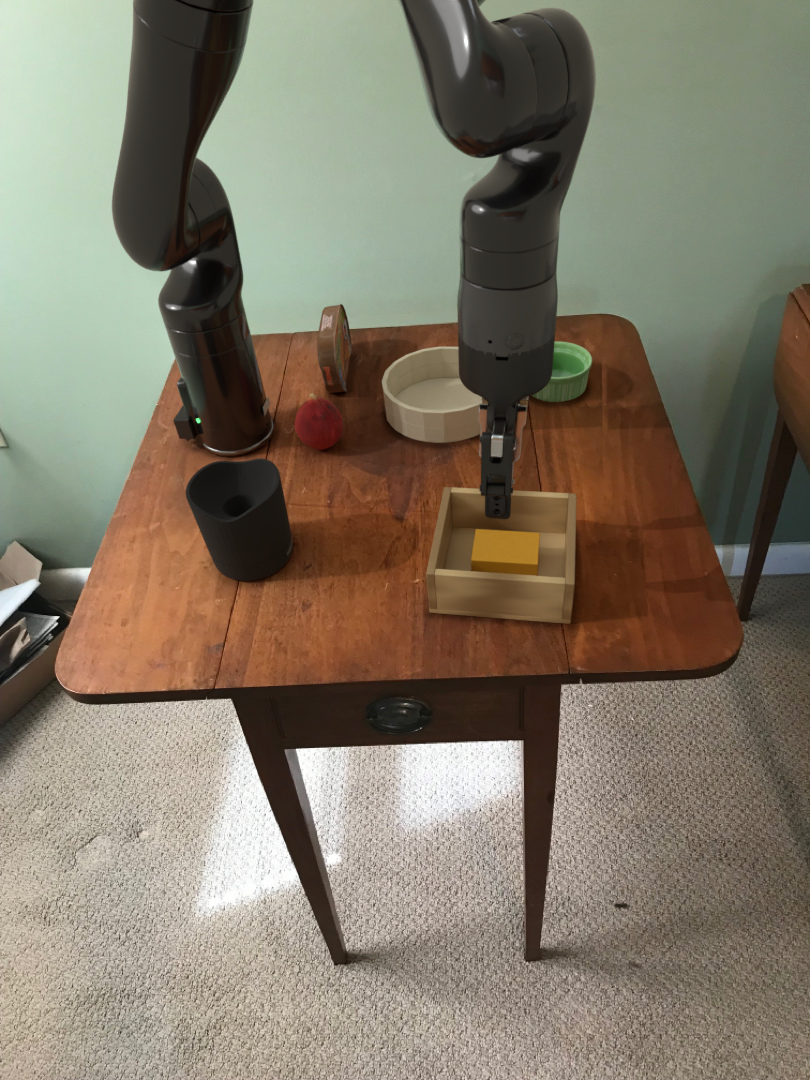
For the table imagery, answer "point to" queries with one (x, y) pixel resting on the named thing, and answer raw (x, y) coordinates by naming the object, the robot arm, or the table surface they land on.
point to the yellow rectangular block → (505, 552)
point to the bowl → (430, 397)
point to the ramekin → (567, 373)
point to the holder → (503, 592)
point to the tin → (334, 347)
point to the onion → (318, 423)
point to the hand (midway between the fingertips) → (502, 484)
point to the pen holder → (242, 517)
